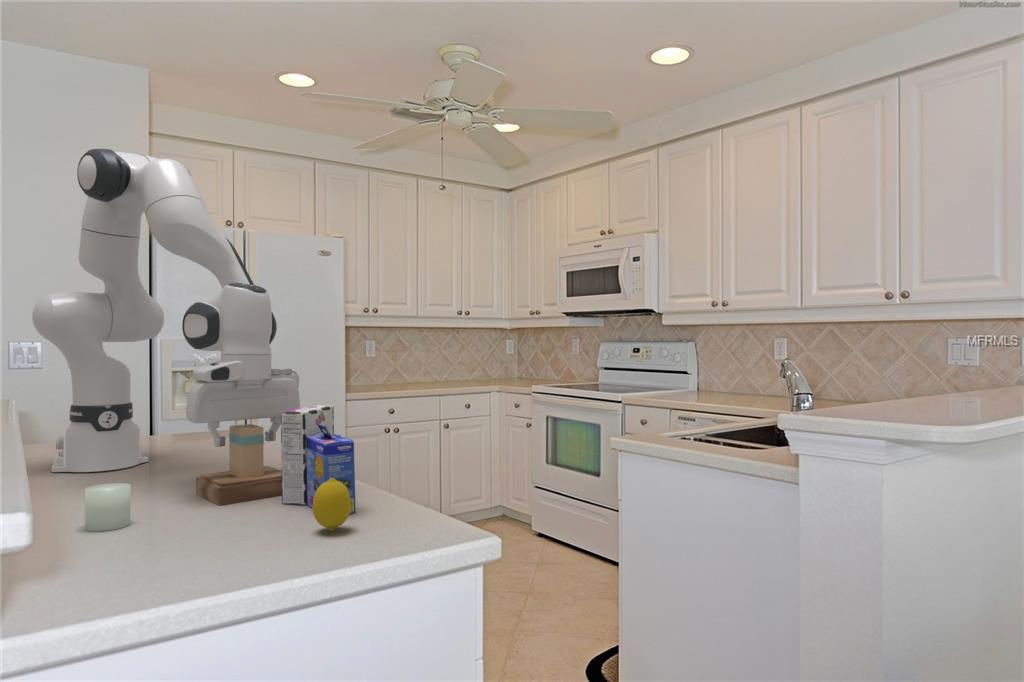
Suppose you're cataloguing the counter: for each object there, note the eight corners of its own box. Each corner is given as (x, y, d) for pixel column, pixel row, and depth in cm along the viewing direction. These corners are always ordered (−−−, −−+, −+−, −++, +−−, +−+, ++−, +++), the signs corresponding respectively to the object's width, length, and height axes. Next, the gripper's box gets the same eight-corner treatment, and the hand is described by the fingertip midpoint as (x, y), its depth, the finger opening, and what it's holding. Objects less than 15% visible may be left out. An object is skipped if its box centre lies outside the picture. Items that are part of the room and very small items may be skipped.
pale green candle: (82, 525, 102) (82, 486, 102) (126, 518, 106) (126, 481, 106) (87, 533, 97) (87, 493, 97) (133, 526, 101) (133, 487, 101)
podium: (196, 493, 123) (196, 474, 123) (269, 482, 132) (269, 465, 132) (219, 505, 114) (219, 485, 114) (296, 492, 123) (296, 474, 123)
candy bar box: (311, 490, 126) (311, 404, 126) (335, 491, 125) (335, 405, 125) (279, 504, 115) (279, 410, 115) (305, 506, 114) (305, 411, 114)
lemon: (315, 538, 95) (315, 483, 95) (310, 528, 100) (310, 476, 100) (353, 534, 98) (354, 480, 97) (347, 524, 103) (347, 473, 103)
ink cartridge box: (304, 505, 114) (304, 422, 114) (335, 501, 117) (335, 420, 117) (324, 518, 106) (324, 428, 106) (356, 513, 109) (357, 426, 109)
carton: (229, 473, 124) (229, 425, 124) (250, 470, 127) (250, 424, 127) (241, 478, 119) (241, 429, 119) (263, 475, 122) (263, 427, 122)
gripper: (291, 367, 132) (291, 436, 133) (183, 370, 118) (182, 446, 119) (306, 369, 128) (305, 440, 128) (195, 372, 114) (194, 451, 114)
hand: (245, 443), depth 123 cm, fingers open, 8 cm apart
